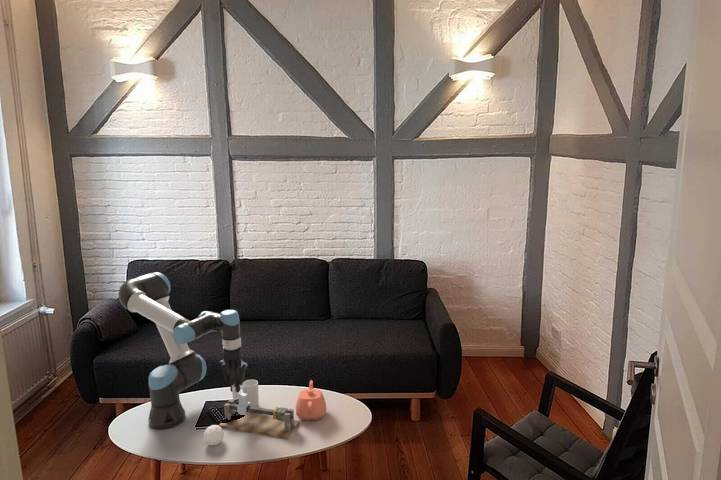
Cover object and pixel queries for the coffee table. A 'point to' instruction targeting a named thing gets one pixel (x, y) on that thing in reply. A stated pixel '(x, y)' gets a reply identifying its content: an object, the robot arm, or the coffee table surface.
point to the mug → (251, 392)
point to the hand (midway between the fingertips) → (236, 398)
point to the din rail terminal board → (262, 421)
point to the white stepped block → (243, 404)
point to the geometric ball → (213, 435)
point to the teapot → (310, 404)
